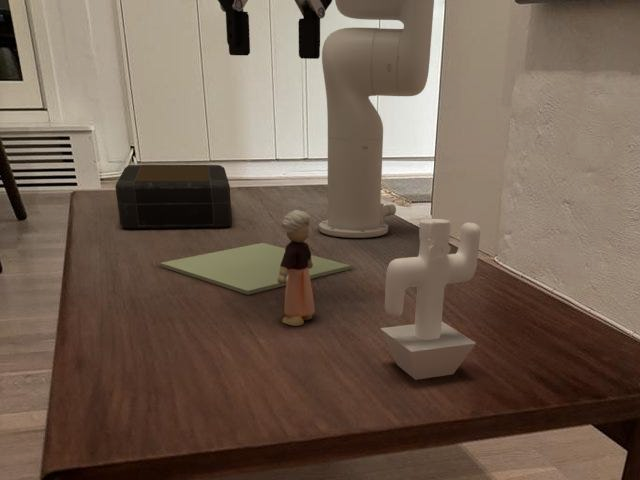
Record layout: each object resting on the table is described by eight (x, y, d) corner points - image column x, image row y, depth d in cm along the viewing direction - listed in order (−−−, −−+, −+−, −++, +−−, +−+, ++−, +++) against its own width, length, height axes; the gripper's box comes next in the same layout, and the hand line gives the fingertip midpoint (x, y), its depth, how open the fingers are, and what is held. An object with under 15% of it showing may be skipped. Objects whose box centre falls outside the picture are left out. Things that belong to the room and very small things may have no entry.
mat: (262, 246, 122) (262, 242, 122) (350, 269, 111) (350, 265, 111) (160, 266, 109) (160, 262, 109) (248, 295, 98) (247, 290, 98)
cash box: (126, 204, 151) (121, 164, 147) (226, 203, 155) (224, 164, 151) (116, 230, 130) (110, 183, 126) (232, 228, 134) (229, 183, 130)
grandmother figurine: (306, 330, 86) (304, 217, 80) (274, 327, 87) (270, 215, 80) (322, 311, 93) (322, 205, 86) (292, 308, 93) (290, 203, 87)
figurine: (369, 363, 78) (373, 214, 70) (447, 352, 81) (460, 209, 73) (398, 388, 72) (407, 229, 64) (482, 376, 75) (499, 223, 68)
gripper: (314, -116, 83) (314, 59, 91) (176, -147, 72) (191, 53, 81) (358, -126, 78) (354, 60, 86) (218, -161, 68) (228, 54, 76)
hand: (275, 56), depth 83 cm, fingers open, 9 cm apart
